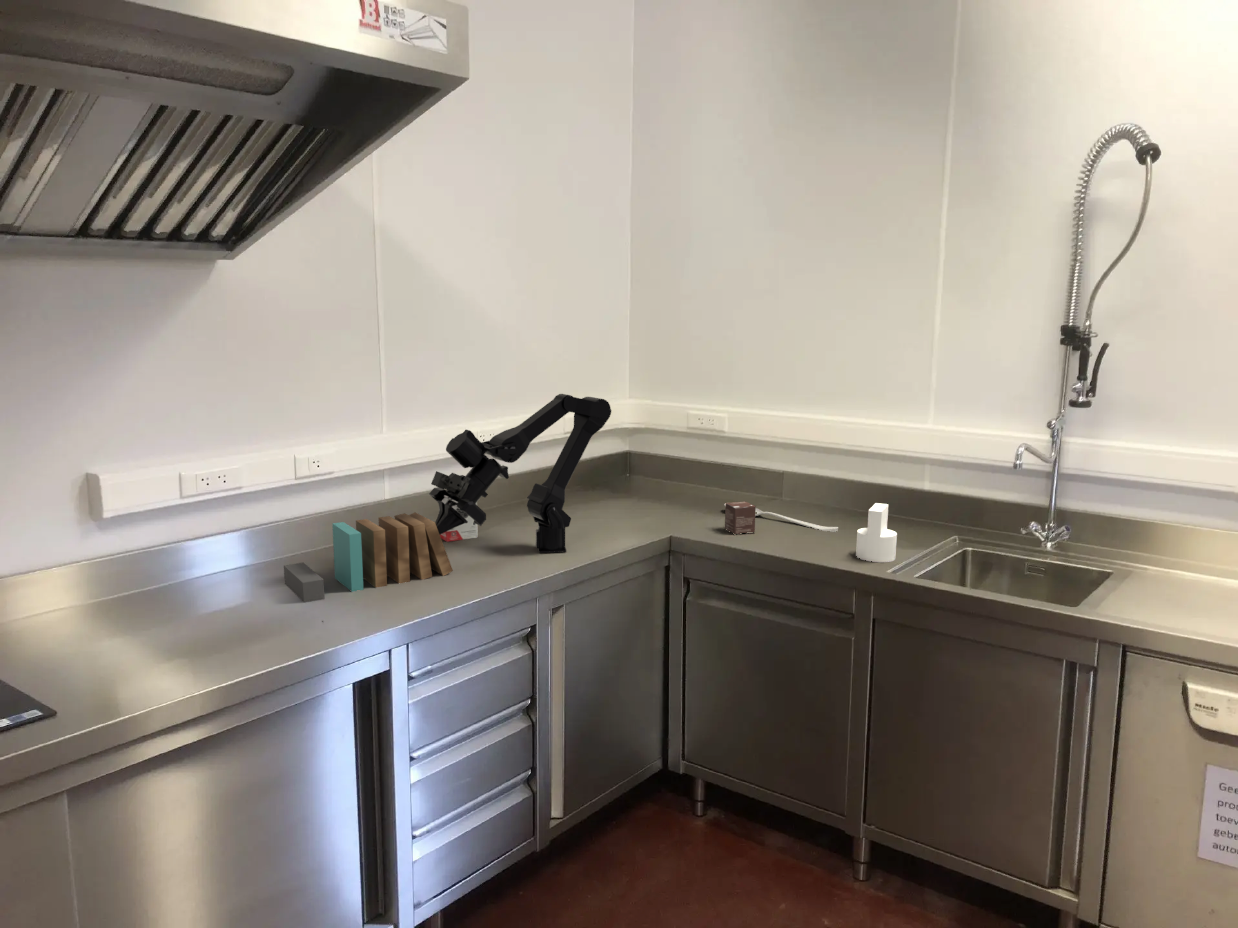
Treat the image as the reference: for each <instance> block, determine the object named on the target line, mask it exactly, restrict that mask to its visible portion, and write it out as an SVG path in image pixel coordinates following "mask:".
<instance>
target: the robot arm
mask: <svg viewBox="0 0 1238 928" xmlns="http://www.w3.org/2000/svg"><path fill="white" fill-rule="evenodd" d="M569 413H574V414H573V428H572V430H571V432H570V434H569V437H568V438H567V439H566V442H565V444H564V446H563V448H562V450H561V451H560V452H559V453H560V454H559V456H558V457H557V459H556V461H555V463H554V465H553V467H552V468H551V471H550V473H549V475H548V477H547V479H546V480H545V481H544V482H542V483H541V484H539V483H534V485H533V487H532V490H531V492H530V493H529V495H528V496H527V504H526V507H527V511H528V513H529V514H530V515H531V516H532V518H533V521H534V523H537V529H536V530H535V548H536V549H537V550H538V553H539V554H544V553H545V554H547V553H549V554H550V553H567V547H566V528H569V527H570V524H571V521H572V518H571V517H570V515H568V513H566V512H565V510H563V508H564V505H565V501H566V488H567V486H568V485H569V483H570V481H571V479H572V476H573V474H574V473H575V470H576V468H577V467H578V465H579V463H580V460H581V459H582V457H583V455H584V453H585V451H586V449H587V447H588V445H589V444H590V443H589V442H590V440H591V439H592V437H593V436H594V435H595V434H596V433H598V432H599V431H600V430H601V429H602V428H603V427H604V426H605V425H606V423H607V422H608V420H609V419H610V417H611V415H612V408H611V404H610V402H609V401H607V400H606V399H604V398H601V397H600V398H599V397H593V396H584V397H582V398H579V397H575V396H573V395H572V394H571V395H570V394H565V393H559V394H557V395H555V397H553V399H552V400H551V401H549V402H547V404H544V406H542V407H541V408H540V409H538V410H537V411H536V412H534V413H533V414H532V415H530V416H529V417H528V418H527V419H525V420H524V421H522V422H521V423H520V424H519V425H517V426H515V427H511V428H509V429H505V430H503V431H501V432H500V433H497V434H495V435H493V436H492V437H491V439H489V440H486V441H480V440H479V439H478V438H477V437H476V436H475V434H474V432H472V431H471V430H469V429H465V430H464V431H463V432H462V433H459V434H457V435H456V436H454V438H453V437H452V438H451V440H450V441H449V442H448V443H447V444H446V447H445V451H446V452H447V453H448V454H449V455H450V456H451V457H452V458H453V459H454V460H455V461H456V462H457V463H458V464H459V465H460V466H461V467H462V468H464V469H468V468H470V470H469V471H468V472H467V473H466V475H465V474H464V475H463V474H460V475H459V474H458V473H457V474H456V473H455V472H451V474H449V475H447V474H445V473H442V472H440V471H435V472H434V475H433V478H432V481H431V486H434V487H433V488H432V490H431V491H430V492H429V493H428V494H429V496H430V497H431V498H432V499H433V500H435V501H436V503H437V504H438V515H437V517H436V518H435V519H436V520H435V521H434V522H435V524H436V526H437V529H438V532H439V534H442V533H444V532H446V531H448V530H451V529H453V528H455V527H457V526H459V525H462V524H464V523H468V521H467V520H466V519H467V518H468V516H470V517H471V518H472V519H473V520H474V523H475V524H477V525H478V526H480V527H482V525H483V524H485V521H486V520H487V513H486V512H485V511H484V510H483V509H482V508H480V506H479V505H478V501H479V500H481V498H486V497H487V496H488V493H487V491H488V490H489V488H490V487H491V486H492V485H493V483H495V482H496V480H497V478H498V477H500V478H503V479H505V480H508V479H509V478H510V477H509V475H510V474H509V471H508V470H509V467H508V466H506V465H504V464H502V465H501V464H500V463H499V462H498V461H497V460H499V461H501V462H504V463H508V464H509V463H510V464H512V463H515V462H517V461H518V460H519V459H520V458H521V457H522V456H523V455H524V454H525V452H527V450H528V448H529V446H530V445H531V442H533V441H534V439H536V438H537V437H539V436H540V435H541V434H543V433H544V432H545V431H546V430H548V429H549V428H550V427H551V426H553V425H554V424H556V422H558V421H560V419H561V418H562V419H563V417H565V416H566V415H568V414H569ZM487 455H489V456H491V458H489V457H488V456H487ZM476 503H477V505H476ZM439 509H440V511H439Z"/></svg>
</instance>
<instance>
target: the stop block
mask: <svg viewBox="0 0 1238 928" xmlns="http://www.w3.org/2000/svg"><path fill="white" fill-rule="evenodd" d="M283 574H284V575H283V576H284V578H283V579H284V585H285V586H286V587H287V588H288V589H289V590H291V592H292V593H294V594H295V596H297V597H298V598H299V599H300V600H301V601H302V602H303V603H308V602H315V601H319V600H324V599H325V582H324V579H323V577H321V576H320V575H319V574H317V573H316V572H315V571H314V570H313V569H311V568H310V566H308V565H307V563H306V562H305V563H304V562H298V563H290V564H284V565H283Z"/></svg>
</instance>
